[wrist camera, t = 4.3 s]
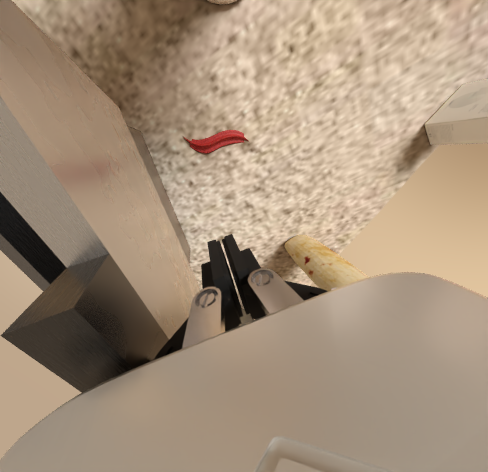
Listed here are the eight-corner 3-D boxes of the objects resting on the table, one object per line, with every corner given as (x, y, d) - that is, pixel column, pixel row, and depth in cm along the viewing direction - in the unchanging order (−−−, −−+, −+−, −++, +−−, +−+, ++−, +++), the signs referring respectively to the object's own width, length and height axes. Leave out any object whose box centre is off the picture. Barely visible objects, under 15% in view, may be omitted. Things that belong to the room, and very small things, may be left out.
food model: (277, 253, 44) (332, 319, 26) (287, 228, 41) (356, 283, 24) (308, 258, 47) (376, 321, 29) (319, 236, 45) (400, 289, 27)
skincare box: (430, 146, 42) (496, 144, 32) (422, 124, 39) (493, 115, 30) (467, 108, 40) (549, 95, 31) (463, 82, 37) (552, 59, 28)
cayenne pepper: (180, 149, 30) (179, 148, 28) (181, 117, 28) (180, 115, 26) (247, 162, 33) (249, 162, 32) (251, 134, 32) (254, 133, 30)
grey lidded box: (14, 138, 24) (-128, 126, 14) (133, 114, 26) (91, 87, 16) (118, 281, 36) (86, 332, 26) (193, 257, 38) (193, 296, 28)
